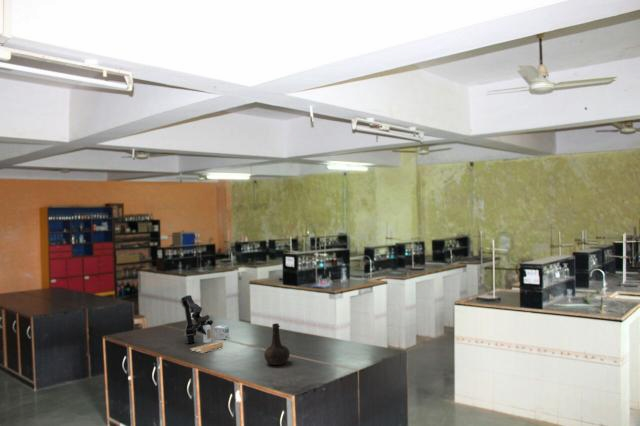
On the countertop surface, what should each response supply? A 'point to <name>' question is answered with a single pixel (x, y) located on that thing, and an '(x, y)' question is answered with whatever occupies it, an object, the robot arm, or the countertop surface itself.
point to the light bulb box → (222, 332)
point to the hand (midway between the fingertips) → (208, 333)
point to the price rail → (211, 346)
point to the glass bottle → (276, 349)
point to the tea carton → (207, 333)
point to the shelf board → (198, 349)
